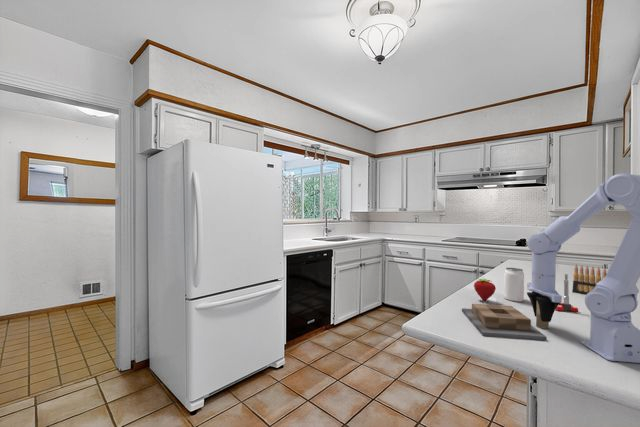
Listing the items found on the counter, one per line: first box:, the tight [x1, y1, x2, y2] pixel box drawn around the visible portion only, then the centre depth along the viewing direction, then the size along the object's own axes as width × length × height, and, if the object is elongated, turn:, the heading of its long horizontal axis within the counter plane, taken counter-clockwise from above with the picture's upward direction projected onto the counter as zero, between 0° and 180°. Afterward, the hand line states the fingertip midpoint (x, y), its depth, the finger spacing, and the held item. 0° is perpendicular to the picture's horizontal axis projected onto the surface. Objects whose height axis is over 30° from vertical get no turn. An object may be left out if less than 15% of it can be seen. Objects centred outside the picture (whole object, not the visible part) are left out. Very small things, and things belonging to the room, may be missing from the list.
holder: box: [461, 303, 548, 341], centre depth 91 cm, size 20×16×4 cm
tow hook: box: [555, 273, 579, 313], centre depth 107 cm, size 8×13×9 cm
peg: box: [535, 302, 550, 330], centre depth 89 cm, size 3×3×8 cm
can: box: [503, 267, 525, 303], centre depth 116 cm, size 6×6×12 cm
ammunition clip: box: [571, 264, 607, 296], centre depth 122 cm, size 11×2×12 cm, turn 37°
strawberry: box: [473, 278, 497, 302], centre depth 114 cm, size 6×8×10 cm
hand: (542, 319), depth 89 cm, fingers open, 3 cm apart
